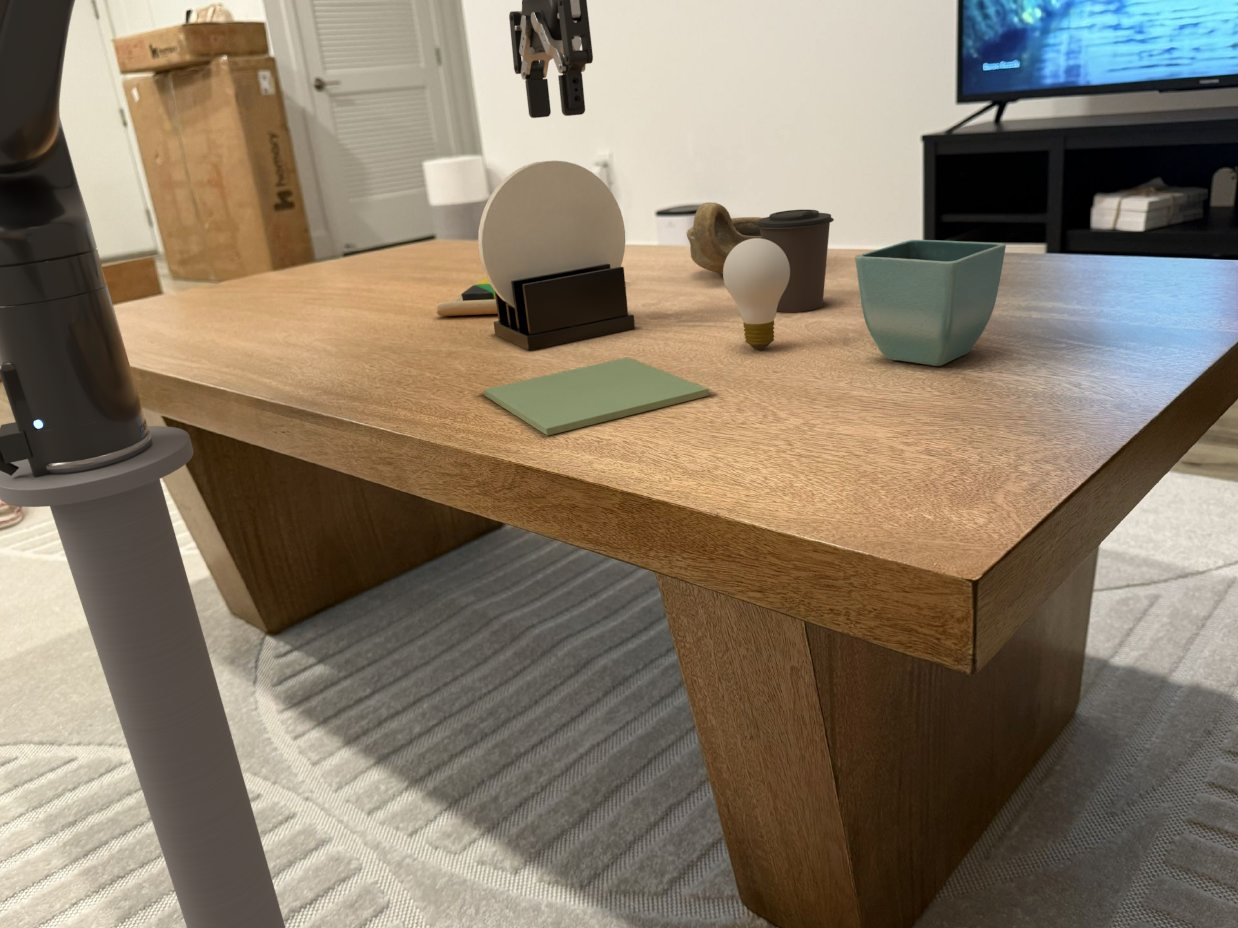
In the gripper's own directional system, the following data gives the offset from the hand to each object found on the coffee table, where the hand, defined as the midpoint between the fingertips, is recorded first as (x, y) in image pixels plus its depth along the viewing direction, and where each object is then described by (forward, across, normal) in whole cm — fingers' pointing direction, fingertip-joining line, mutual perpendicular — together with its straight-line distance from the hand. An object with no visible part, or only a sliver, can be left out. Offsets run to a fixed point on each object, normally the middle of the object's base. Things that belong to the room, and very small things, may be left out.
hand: (556, 116), depth 99 cm
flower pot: (+22, +36, +16) cm, 45 cm away
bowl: (+21, -10, +27) cm, 36 cm away
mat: (+22, +25, -10) cm, 35 cm away
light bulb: (+22, +23, +8) cm, 33 cm away
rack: (+22, +1, -2) cm, 22 cm away
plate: (+20, +1, -2) cm, 20 cm away
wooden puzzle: (+22, -19, +2) cm, 29 cm away
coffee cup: (+22, +11, +21) cm, 32 cm away
